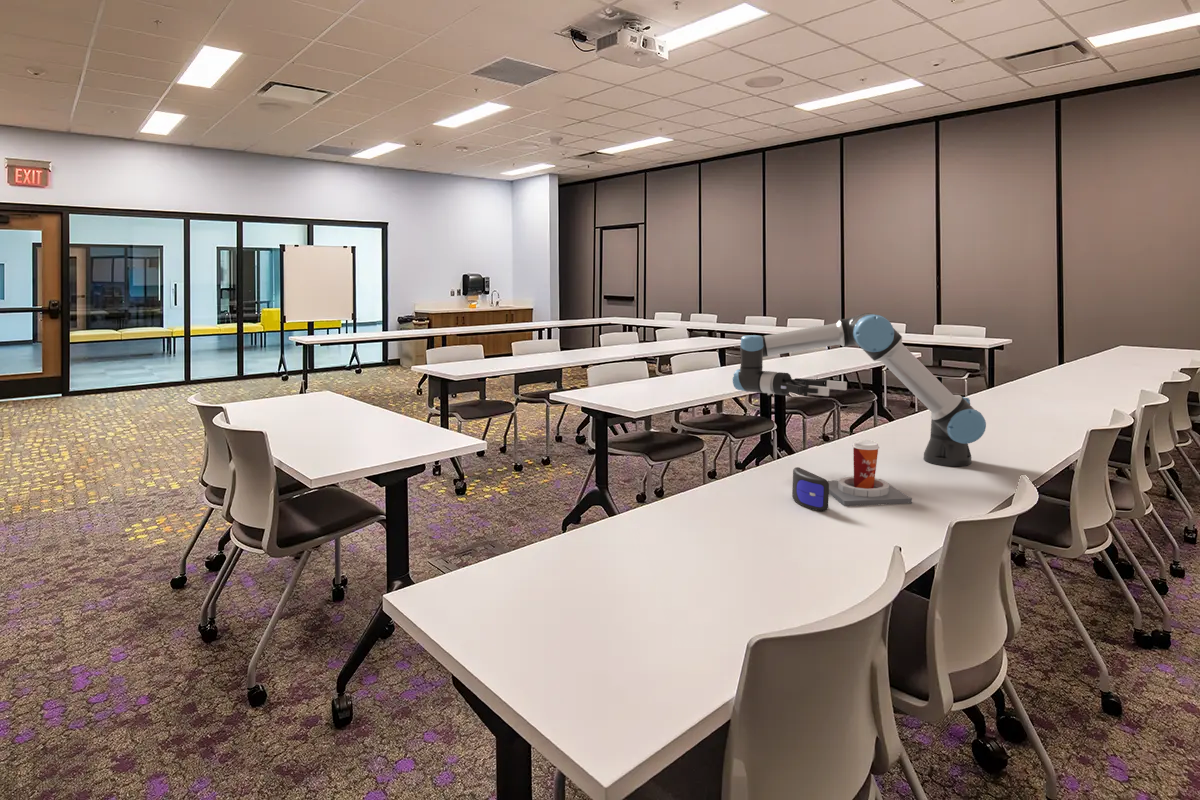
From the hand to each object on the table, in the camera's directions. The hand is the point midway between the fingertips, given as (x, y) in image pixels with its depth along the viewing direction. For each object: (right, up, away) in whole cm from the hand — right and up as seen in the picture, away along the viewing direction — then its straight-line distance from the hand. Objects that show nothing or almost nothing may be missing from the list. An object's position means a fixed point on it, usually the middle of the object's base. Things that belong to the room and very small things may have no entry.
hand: (837, 388), depth 221 cm
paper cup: (+5, -30, -8) cm, 32 cm away
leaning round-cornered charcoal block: (-14, -34, -18) cm, 41 cm away
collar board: (+4, -32, -10) cm, 34 cm away
